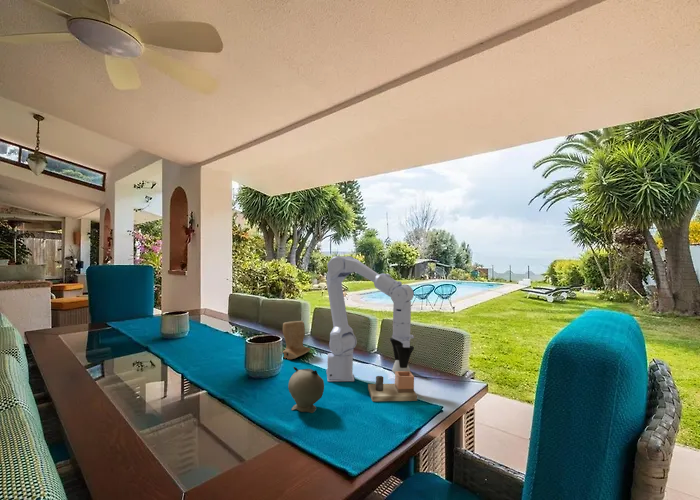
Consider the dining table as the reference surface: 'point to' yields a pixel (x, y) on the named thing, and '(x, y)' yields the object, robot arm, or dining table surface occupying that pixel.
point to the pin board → (388, 392)
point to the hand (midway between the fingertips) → (400, 363)
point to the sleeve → (404, 382)
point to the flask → (397, 367)
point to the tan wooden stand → (294, 339)
